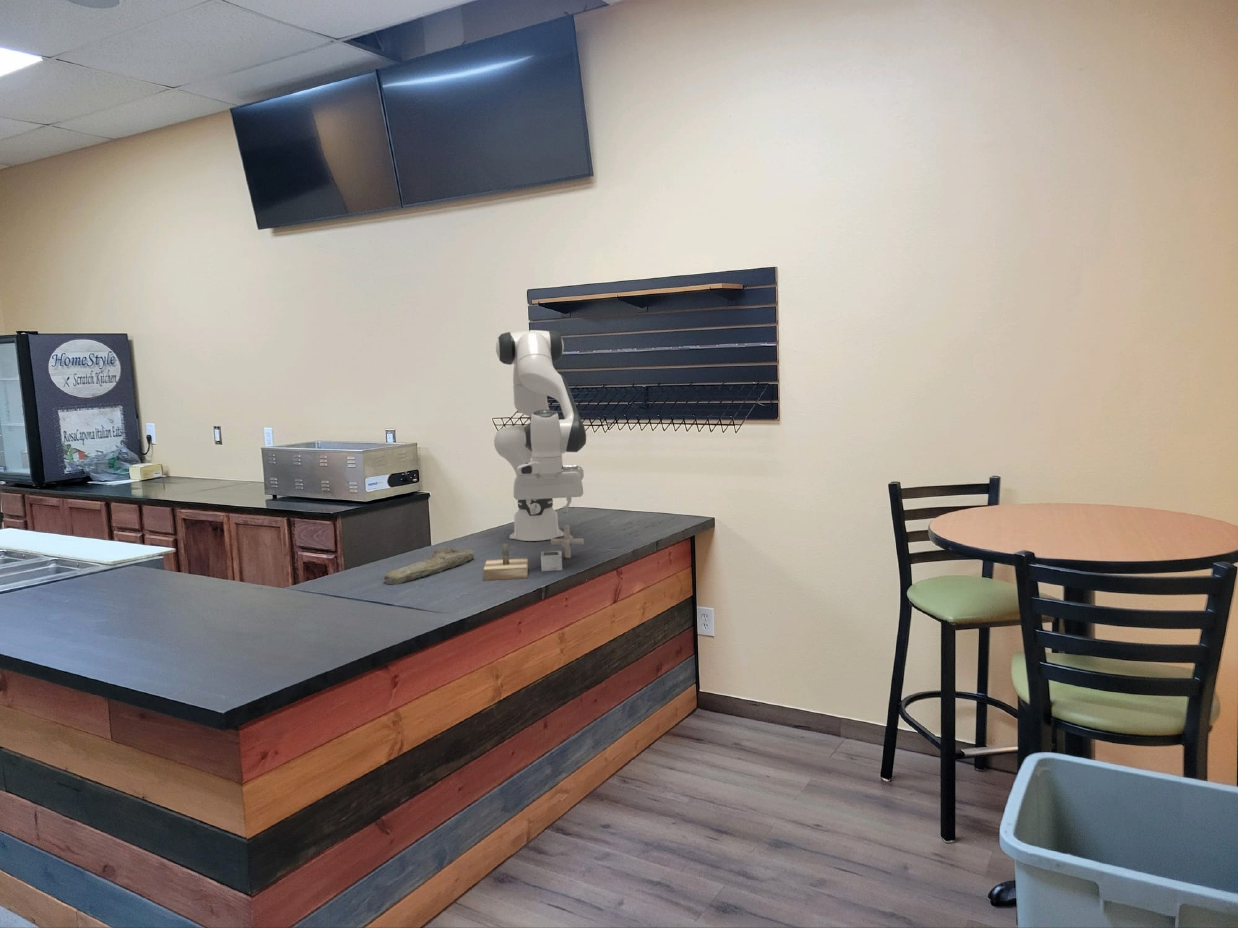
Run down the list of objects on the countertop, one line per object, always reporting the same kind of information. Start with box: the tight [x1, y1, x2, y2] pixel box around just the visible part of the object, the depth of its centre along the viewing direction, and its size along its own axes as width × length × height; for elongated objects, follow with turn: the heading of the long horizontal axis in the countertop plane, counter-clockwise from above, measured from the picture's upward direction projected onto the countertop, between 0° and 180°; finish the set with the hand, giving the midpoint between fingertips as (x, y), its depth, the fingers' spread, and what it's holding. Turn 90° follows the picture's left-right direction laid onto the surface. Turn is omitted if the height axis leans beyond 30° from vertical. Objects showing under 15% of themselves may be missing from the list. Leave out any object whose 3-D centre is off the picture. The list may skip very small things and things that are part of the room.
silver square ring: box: [540, 550, 563, 572], centre depth 250 cm, size 6×6×4 cm
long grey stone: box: [383, 546, 475, 585], centre depth 253 cm, size 35×5×10 cm
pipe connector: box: [550, 524, 585, 559], centre depth 263 cm, size 10×10×10 cm
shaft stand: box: [483, 543, 529, 581], centre depth 245 cm, size 12×12×8 cm
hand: (549, 513), depth 249 cm, fingers open, 8 cm apart
